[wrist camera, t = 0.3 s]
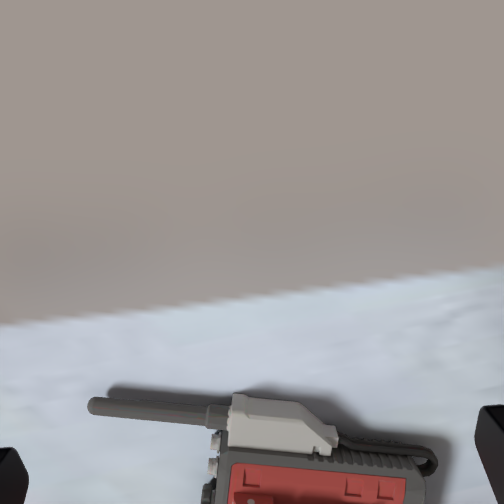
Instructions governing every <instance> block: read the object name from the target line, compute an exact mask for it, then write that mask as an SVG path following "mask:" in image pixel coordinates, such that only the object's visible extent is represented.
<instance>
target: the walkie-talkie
mask: <svg viewBox="0 0 504 504" xmlns="http://www.w3.org/2000/svg"><path fill="white" fill-rule="evenodd" d="M87 408H88V411H89V412H90V413H91V414H93V415H100V416H110V417H120V418H130V419H141V420H151V421H161V422H171V423H181V424H191V425H202V426H206V428H207V429H217V430H222V434H221V432H219V435H217V434H212V438H211V448H210V449H213V450H217V453H219V451H220V457H219V456H217V458H209V463H208V473H207V474H210V475H215V476H214V478H216V476H217V482H216V489H215V490H212V485H211V484H204V486H203V490H202V497H201V504H423V502H424V497H425V491H426V485H425V480H424V478H423V477H425V476H430V475H431V474H433V473H434V472H435V470H436V468H437V466H438V460H437V458H436V456H435V455H434V453H433V452H432V451H431V450H430V449H428V448H425V447H423V446H418V445H408V444H402V443H401V442H399V443H394V442H393V441H390V442H385V441H384V440H381V441H376V440H375V439H372V440H367V439H366V438H363V440H362V439H357V438H356V437H354V439H353V438H350V437H348V436H347V435H345V434H343V433H339V432H337V431H336V427H335V426H331V425H325V424H324V423H323V422H322V421H321V420H319V419H318V418H317V417H316V416H315V415H314V414H312V413H311V412H310V411H309V410H308V409H307V408H305V407H304V406H303V405H302V404H301V403H299V402H292V401H282V400H272V399H262V398H252V397H248V396H246V395H245V394H236V393H233V397H232V404H231V405H230V406H226V405H216V404H210V405H209V406H207V407H206V406H197V405H187V404H178V403H168V402H158V401H149V400H139V401H136V400H125V399H114V398H103V397H93V398H91V399H90V400H89V402H88V406H87ZM412 456H416V457H424V458H427V459H428V460H427V462H426V463H425V464H422V465H416V463H415V461H414V459H413V458H412Z"/></svg>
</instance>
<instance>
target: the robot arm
mask: <svg viewBox="0 0 504 504" xmlns="http://www.w3.org/2000/svg"><path fill="white" fill-rule="evenodd" d="M474 437H475V445H476V448H477V451H478V453H479V456H480V459H481V461H482V464H483V466H484V469H485V471H486V474H487V477H488V479H489V482H490V484H491V487H492V490H493V492H494V495H495V497H496V500H497V502H498V504H504V405H501V404H499V405H487V406H483V407H482V408H481V409H480V411H479V415H478V420H477V425H476V430H475V436H474ZM28 485H29V476H28V472H27V470H26V468H25V466H24V464H23V462H22V460H21V458H20V456H19V454H18V452H17V450H16V449H14V448H13V447H4V448H0V504H24V501H25V497H26V493H27V489H28Z"/></svg>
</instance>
